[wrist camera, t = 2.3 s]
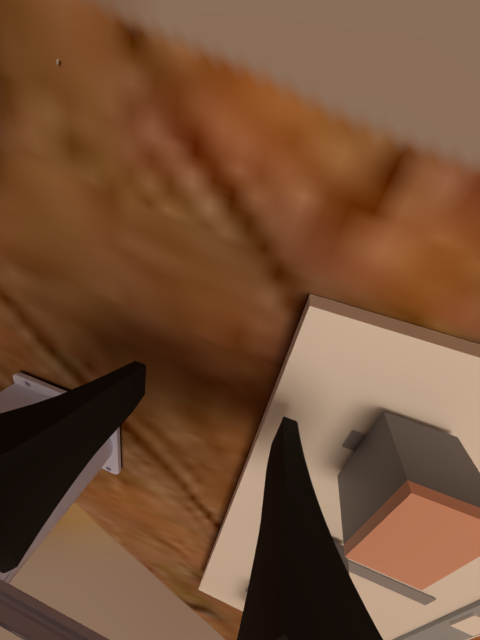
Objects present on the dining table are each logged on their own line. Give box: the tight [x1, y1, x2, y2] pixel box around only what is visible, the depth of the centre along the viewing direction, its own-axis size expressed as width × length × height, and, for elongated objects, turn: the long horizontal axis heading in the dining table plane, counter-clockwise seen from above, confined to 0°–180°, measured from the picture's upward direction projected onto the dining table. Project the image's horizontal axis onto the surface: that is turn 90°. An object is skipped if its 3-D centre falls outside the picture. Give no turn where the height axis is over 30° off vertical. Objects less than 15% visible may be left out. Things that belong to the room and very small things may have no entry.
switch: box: [337, 412, 480, 590], centre depth 10 cm, size 3×5×3 cm, turn 167°
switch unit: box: [198, 294, 480, 640], centre depth 17 cm, size 18×34×2 cm, turn 168°
